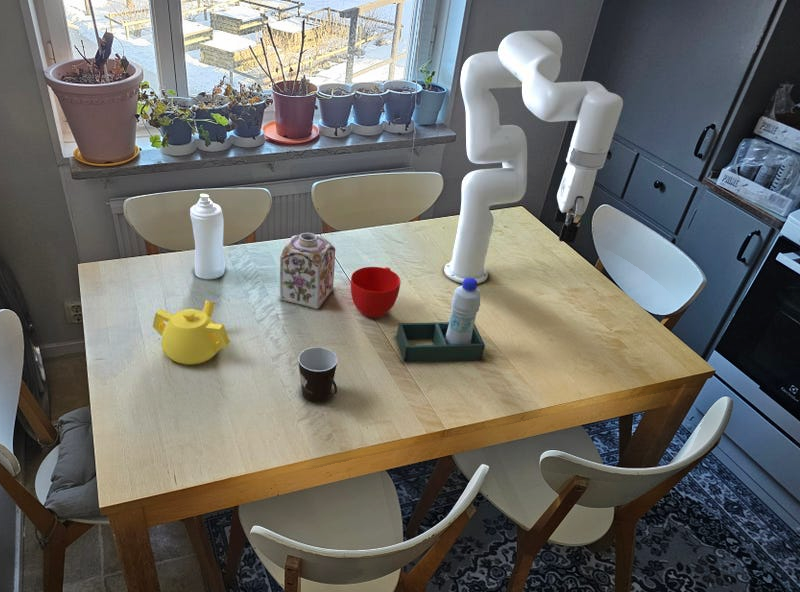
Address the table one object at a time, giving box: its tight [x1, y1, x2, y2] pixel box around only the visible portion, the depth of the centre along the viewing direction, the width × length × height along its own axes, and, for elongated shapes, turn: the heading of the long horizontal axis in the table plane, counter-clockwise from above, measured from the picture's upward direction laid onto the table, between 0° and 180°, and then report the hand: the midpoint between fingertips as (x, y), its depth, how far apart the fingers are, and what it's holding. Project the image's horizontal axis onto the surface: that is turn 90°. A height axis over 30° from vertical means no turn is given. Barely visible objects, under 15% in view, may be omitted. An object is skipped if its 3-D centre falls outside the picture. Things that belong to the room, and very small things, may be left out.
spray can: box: [189, 193, 226, 280], centre depth 175 cm, size 12×11×25 cm
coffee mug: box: [297, 346, 339, 404], centre depth 139 cm, size 12×9×10 cm
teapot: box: [152, 300, 231, 366], centre depth 153 cm, size 20×18×11 cm
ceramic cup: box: [350, 266, 402, 319], centre depth 169 cm, size 13×17×10 cm
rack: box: [396, 321, 486, 363], centre depth 157 cm, size 10×19×4 cm, turn 95°
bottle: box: [444, 278, 482, 344], centre depth 153 cm, size 7×7×20 cm
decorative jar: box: [279, 232, 337, 310], centre depth 171 cm, size 12×12×18 cm
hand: (563, 231), depth 142 cm, fingers open, 9 cm apart
